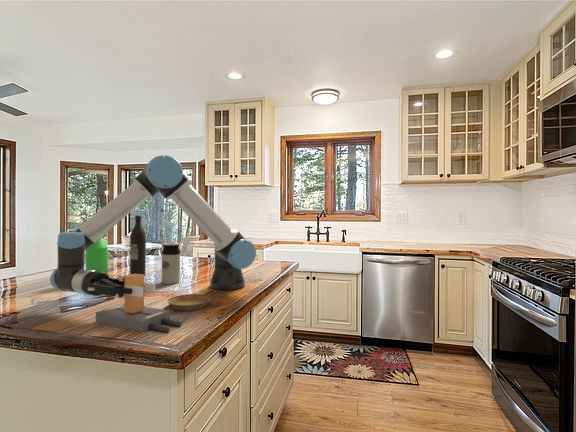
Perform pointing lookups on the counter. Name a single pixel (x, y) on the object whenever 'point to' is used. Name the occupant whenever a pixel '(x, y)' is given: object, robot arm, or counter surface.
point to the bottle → (97, 257)
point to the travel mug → (170, 263)
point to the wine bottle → (137, 248)
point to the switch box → (136, 319)
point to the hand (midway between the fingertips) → (148, 290)
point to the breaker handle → (134, 302)
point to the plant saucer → (189, 301)
